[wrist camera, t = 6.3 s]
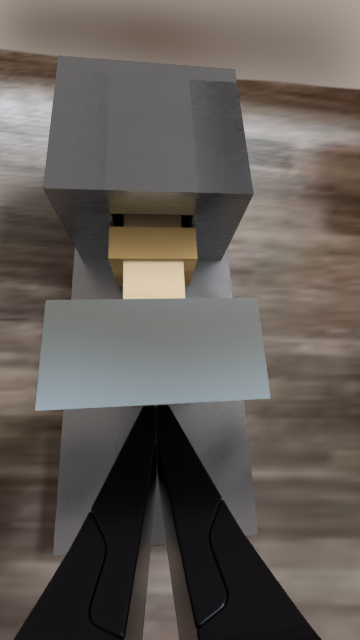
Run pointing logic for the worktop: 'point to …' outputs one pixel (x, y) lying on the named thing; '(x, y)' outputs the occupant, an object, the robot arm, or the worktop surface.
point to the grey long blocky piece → (108, 211)
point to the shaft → (151, 332)
